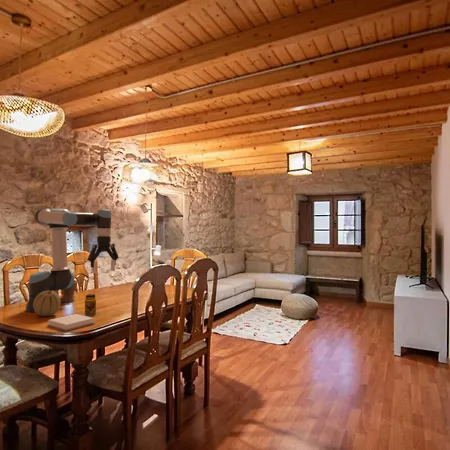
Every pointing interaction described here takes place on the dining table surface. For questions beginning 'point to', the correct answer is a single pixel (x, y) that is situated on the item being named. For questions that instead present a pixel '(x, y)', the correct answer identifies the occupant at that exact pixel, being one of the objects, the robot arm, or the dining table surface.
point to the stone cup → (69, 293)
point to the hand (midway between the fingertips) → (103, 271)
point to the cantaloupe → (46, 303)
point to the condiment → (90, 305)
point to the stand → (71, 322)
